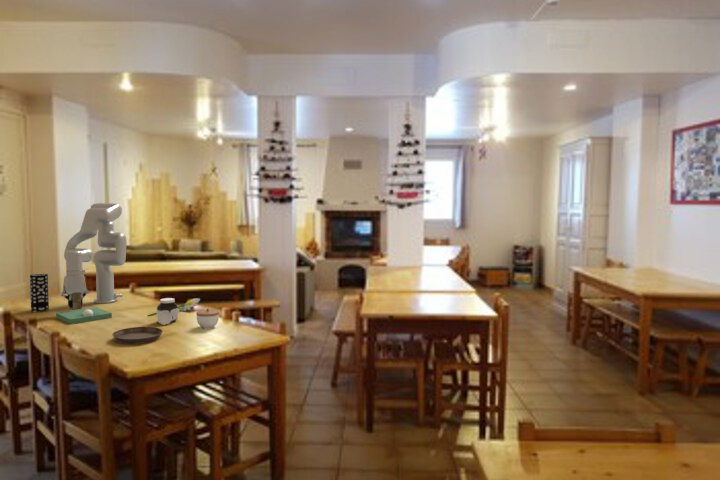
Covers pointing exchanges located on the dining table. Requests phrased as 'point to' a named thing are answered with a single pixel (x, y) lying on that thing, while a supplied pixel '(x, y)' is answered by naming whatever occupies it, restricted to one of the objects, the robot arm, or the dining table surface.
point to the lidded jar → (207, 318)
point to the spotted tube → (39, 292)
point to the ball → (87, 312)
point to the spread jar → (167, 311)
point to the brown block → (76, 301)
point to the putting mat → (77, 316)
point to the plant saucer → (137, 335)
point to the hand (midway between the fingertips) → (75, 306)
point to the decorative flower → (185, 305)
